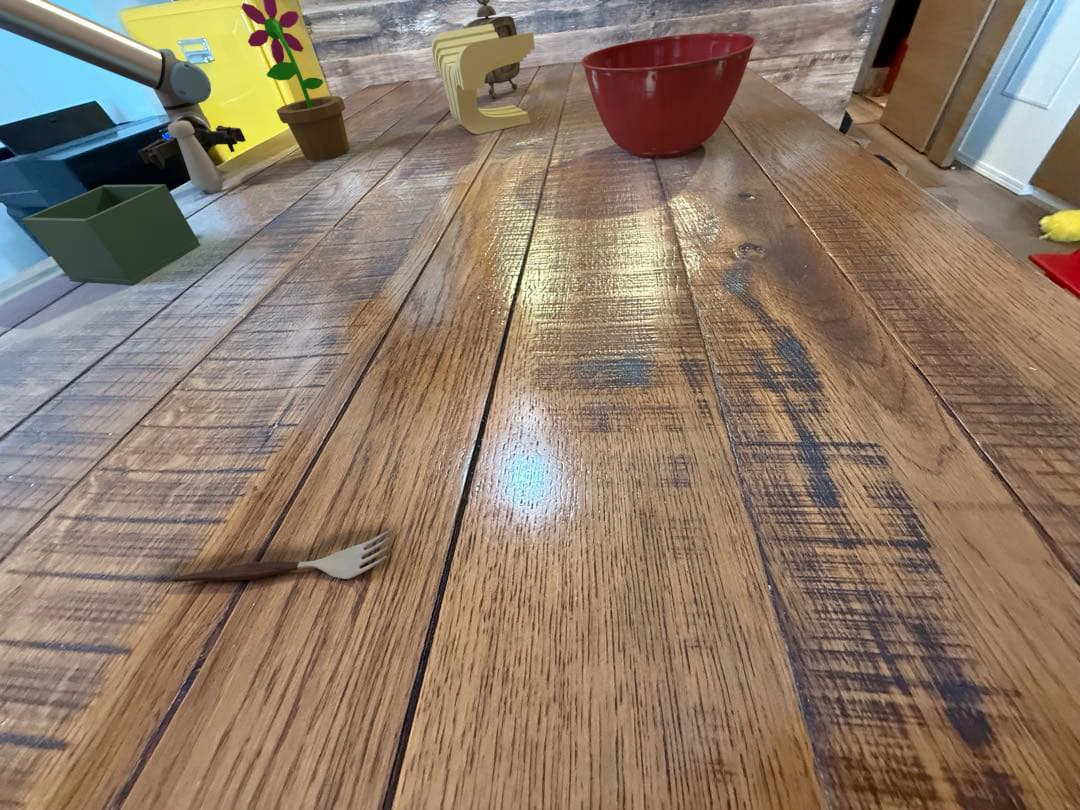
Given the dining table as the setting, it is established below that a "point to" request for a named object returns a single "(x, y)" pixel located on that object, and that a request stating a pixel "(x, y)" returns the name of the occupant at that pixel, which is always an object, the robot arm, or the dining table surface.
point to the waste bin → (114, 233)
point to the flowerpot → (311, 118)
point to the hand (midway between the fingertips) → (194, 153)
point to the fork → (298, 565)
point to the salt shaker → (196, 158)
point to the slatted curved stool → (478, 73)
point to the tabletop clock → (503, 29)
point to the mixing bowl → (667, 89)
